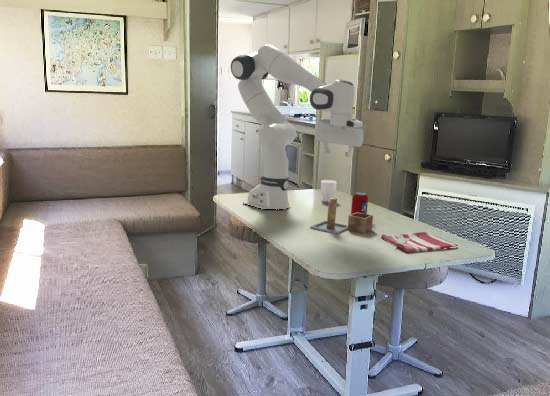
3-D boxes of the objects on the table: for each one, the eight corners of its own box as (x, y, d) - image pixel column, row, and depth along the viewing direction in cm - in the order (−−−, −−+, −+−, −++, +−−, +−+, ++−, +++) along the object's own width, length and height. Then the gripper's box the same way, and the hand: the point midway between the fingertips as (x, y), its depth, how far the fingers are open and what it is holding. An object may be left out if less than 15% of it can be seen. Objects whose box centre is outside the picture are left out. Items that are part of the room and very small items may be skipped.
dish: (310, 229, 201) (310, 226, 201) (324, 223, 211) (324, 220, 211) (337, 235, 195) (337, 232, 195) (350, 229, 205) (350, 226, 205)
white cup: (321, 198, 259) (322, 179, 257) (336, 200, 257) (338, 180, 255) (318, 201, 252) (319, 181, 250) (333, 203, 250) (335, 183, 248)
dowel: (325, 227, 203) (327, 198, 200) (328, 226, 205) (331, 197, 203) (332, 229, 201) (334, 200, 198) (335, 228, 204) (338, 198, 201)
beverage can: (365, 222, 216) (368, 195, 214) (350, 221, 217) (352, 193, 215) (366, 218, 223) (368, 192, 220) (350, 217, 224) (353, 190, 221)
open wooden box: (347, 231, 202) (348, 215, 200) (355, 227, 208) (356, 212, 206) (364, 235, 198) (365, 218, 196) (371, 231, 204) (373, 215, 202)
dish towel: (379, 240, 193) (379, 234, 193) (429, 236, 202) (429, 230, 201) (405, 254, 178) (406, 247, 177) (458, 250, 187) (459, 243, 186)
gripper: (314, 118, 208) (311, 151, 211) (359, 123, 197) (356, 159, 200) (322, 118, 213) (319, 150, 216) (366, 123, 202) (362, 157, 205)
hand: (337, 154), depth 208 cm, fingers open, 8 cm apart
